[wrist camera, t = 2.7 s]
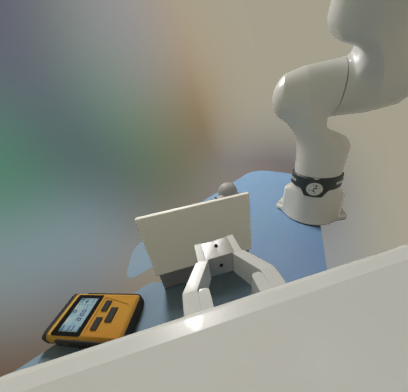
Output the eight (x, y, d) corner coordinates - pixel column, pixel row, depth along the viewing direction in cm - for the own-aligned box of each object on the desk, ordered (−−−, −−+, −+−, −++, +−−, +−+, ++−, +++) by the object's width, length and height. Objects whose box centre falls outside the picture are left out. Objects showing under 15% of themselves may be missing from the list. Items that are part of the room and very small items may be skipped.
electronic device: (126, 354, 25) (118, 346, 24) (48, 347, 28) (35, 340, 26) (147, 299, 33) (142, 290, 31) (83, 298, 35) (76, 289, 33)
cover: (246, 191, 28) (249, 193, 27) (249, 246, 33) (251, 248, 32) (135, 217, 25) (134, 220, 25) (157, 272, 30) (156, 276, 30)
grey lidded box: (229, 229, 47) (228, 214, 45) (248, 263, 36) (248, 245, 33) (165, 246, 45) (160, 231, 42) (165, 288, 34) (157, 271, 31)
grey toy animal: (213, 212, 62) (204, 199, 56) (228, 191, 66) (222, 177, 60) (227, 218, 57) (219, 204, 51) (243, 195, 61) (237, 180, 56)
